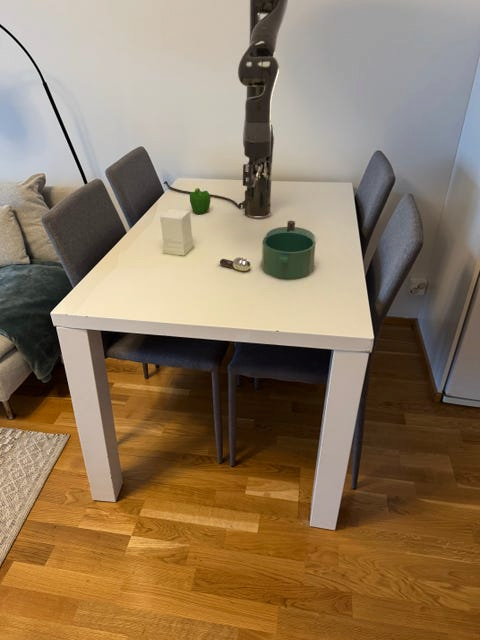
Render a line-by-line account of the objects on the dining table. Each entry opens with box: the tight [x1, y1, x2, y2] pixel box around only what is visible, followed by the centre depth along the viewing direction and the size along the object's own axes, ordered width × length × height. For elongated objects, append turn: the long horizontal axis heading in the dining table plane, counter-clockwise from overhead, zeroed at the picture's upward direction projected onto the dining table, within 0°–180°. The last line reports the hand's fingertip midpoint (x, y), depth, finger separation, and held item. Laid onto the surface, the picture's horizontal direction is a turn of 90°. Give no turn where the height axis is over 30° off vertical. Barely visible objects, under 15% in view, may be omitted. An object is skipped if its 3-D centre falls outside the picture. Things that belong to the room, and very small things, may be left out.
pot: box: [261, 231, 317, 280], centre depth 135 cm, size 16×21×8 cm
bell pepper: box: [189, 187, 211, 215], centre depth 176 cm, size 8×8×10 cm
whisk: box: [219, 256, 251, 272], centre depth 136 cm, size 10×4×4 cm, turn 62°
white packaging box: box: [159, 208, 194, 256], centre depth 145 cm, size 7×7×13 cm
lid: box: [266, 220, 315, 240], centre depth 155 cm, size 17×17×6 cm
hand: (256, 195), depth 134 cm, fingers open, 8 cm apart
